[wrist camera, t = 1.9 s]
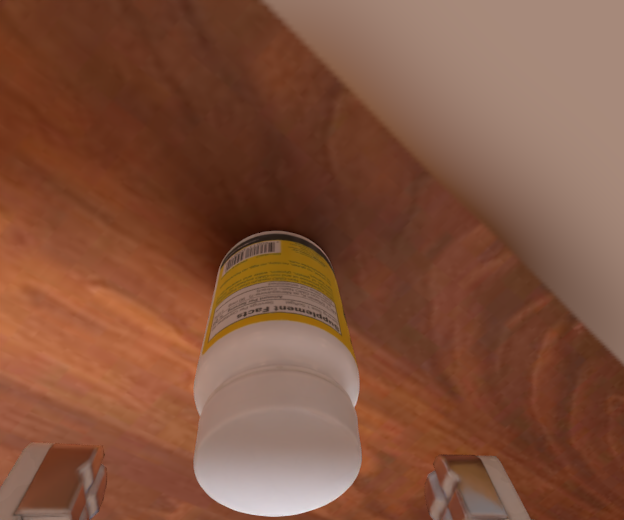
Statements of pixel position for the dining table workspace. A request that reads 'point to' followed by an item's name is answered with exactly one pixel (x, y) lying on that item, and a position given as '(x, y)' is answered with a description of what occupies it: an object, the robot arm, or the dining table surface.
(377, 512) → the dining table surface
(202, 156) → the dining table surface
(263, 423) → the supplement bottle
